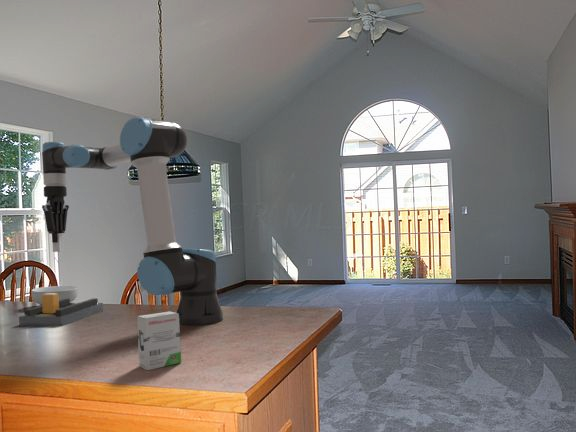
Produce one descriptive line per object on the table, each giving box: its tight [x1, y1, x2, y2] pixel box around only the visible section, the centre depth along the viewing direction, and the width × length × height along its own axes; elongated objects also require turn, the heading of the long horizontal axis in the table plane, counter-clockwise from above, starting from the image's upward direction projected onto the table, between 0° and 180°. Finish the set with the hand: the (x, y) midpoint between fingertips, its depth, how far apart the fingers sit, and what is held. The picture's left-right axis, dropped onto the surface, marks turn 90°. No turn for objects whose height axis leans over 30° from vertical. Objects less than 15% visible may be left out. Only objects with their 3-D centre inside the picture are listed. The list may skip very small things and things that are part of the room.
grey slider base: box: [18, 301, 104, 327], centre depth 189 cm, size 15×26×4 cm, turn 170°
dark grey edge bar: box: [24, 299, 71, 316], centre depth 190 cm, size 2×23×2 cm, turn 170°
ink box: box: [136, 311, 182, 371], centre depth 127 cm, size 9×5×12 cm, turn 127°
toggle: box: [42, 293, 59, 313], centre depth 182 cm, size 4×3×6 cm
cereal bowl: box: [30, 285, 79, 306], centre depth 215 cm, size 17×17×7 cm
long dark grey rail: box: [56, 298, 99, 316], centre depth 188 cm, size 2×23×2 cm, turn 170°
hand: (57, 251), depth 197 cm, fingers closed
